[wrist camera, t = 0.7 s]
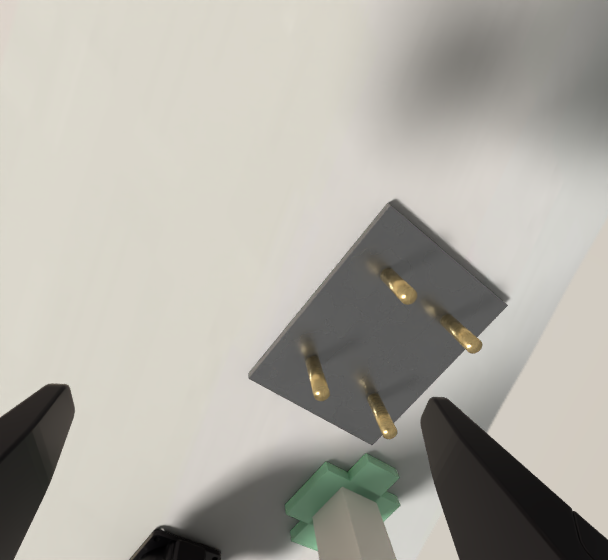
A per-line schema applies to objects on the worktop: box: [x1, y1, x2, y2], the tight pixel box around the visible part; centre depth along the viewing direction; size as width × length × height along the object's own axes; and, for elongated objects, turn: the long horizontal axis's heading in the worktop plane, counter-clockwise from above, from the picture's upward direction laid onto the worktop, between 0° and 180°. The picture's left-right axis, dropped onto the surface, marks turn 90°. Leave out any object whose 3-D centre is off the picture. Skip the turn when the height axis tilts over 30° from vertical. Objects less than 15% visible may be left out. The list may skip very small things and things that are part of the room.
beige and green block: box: [285, 453, 401, 560], centre depth 29 cm, size 10×8×8 cm
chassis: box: [248, 203, 508, 445], centre depth 25 cm, size 15×12×4 cm
